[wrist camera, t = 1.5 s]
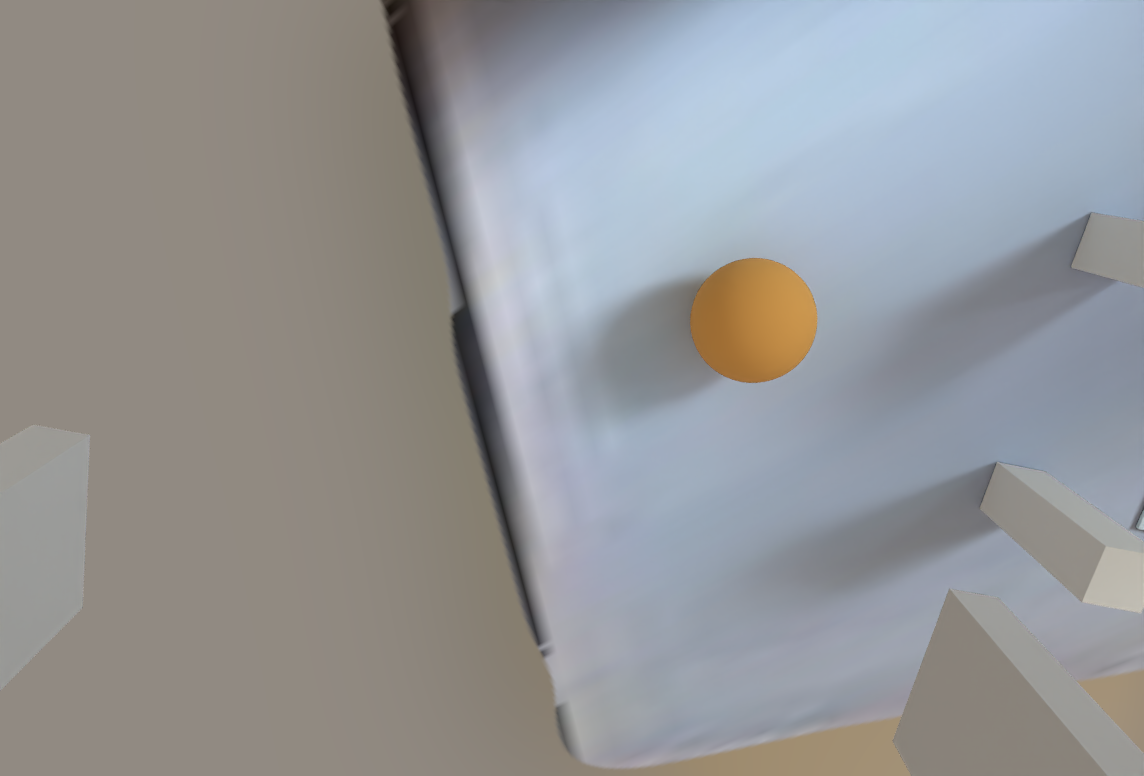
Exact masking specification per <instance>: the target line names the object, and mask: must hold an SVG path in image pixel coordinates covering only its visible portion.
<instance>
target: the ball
mask: <svg viewBox="0 0 1144 776" xmlns="http://www.w3.org/2000/svg"><path fill="white" fill-rule="evenodd" d="M690 327H691V333H692V338H693V341H694V344H695V346H696V348H697V350H698V352H699V354H700V355H701V357H702V358H703V359H704V361H705V362H706V363H707V364H708V365H709V366H710V367H711V368H713V369H714V370H715V371H716V372H718V373H720V374H721V375H723V376H725V377H728V378H730V379H732V380H736V381H740V382H746V383H758V382H765V381H769V380H773V379H776V378H778V377H781V376H783V375H784V374H786V373H788V372H789V371H791V370H792V369H794V368H795V367H796V366H797V365H798V364H799V363H800V362H801V361H802V360H803V359H804V357H805V356H806V354H807V353H808V351H809V349H810V347H811V346H812V343H813V340H814V338H815V333H816V329H817V310H816V305H815V302H814V299H813V296H812V294H811V292H810V290H809V288H808V286H807V285H806V284H805V282H804V281H803V280H802V279H801V278H800V277H799V276H798V275H797V274H796V273H795V272H794V271H793V270H791V269H790V268H788V267H786V266H785V265H782V264H780V263H778V262H775V261H772V260H768V259H761V258H749V259H742V260H738V261H734V262H732V263H729V264H727V265H725V266H723V267H721V268H719V269H718V270H717V271H715V272H714V273H713V274H712V275H711V276H710V277H708V278H707V280H706V281H705V282H704V283H703V284H702V286H701V287H700V289H699V291H698V293H697V295H696V297H695V299H694V302H693V305H692V310H691V316H690Z"/></svg>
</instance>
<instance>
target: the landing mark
mask: <svg viewBox="0 0 1144 776" xmlns="http://www.w3.org/2000/svg"><path fill="white" fill-rule="evenodd" d="M1136 528H1137V529H1141V530H1144V510H1143V512H1142V514H1141V516H1140V519H1139V521H1138V523H1137V525H1136Z"/></svg>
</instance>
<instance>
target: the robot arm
mask: <svg viewBox="0 0 1144 776" xmlns="http://www.w3.org/2000/svg"><path fill="white" fill-rule="evenodd" d="M89 447H90V435H88V434H83V433H77V432H72V431H66V430H60V429H55V428H49V427H44V426H38V425H32V426H30V427H28V428H26V429H24V430H23V431H21V432H19V433H17V434H16V435H14V436H12V437H10V438H9V439H7V440H5V441H3V442H1V443H0V691H1V690H2V688H3V687H5V686H6V685H7V684H8V682H9V681H10V680H11V679H12V678H13V677H14V676H15V675H16V674H17V673H18V672H19V671H20V670H21V669H22V668H23V667H24V666H25V665H26V664H27V663H28V662H29V661H30V660H31V659H32V658H33V657H34V656H35V655H36V654H37V653H38V652H39V651H40V650H41V649H42V648H43V647H44V646H45V645H46V644H47V643H48V642H49V641H50V640H51V639H52V638H53V637H54V636H55V635H56V634H57V633H58V632H59V631H60V630H61V629H62V628H63V627H64V626H65V625H66V624H67V623H68V622H69V621H70V620H71V619H72V618H73V617H74V616H75V615H76V614H77V613H78V612H79V611H80V610H81V609H82V608H83V587H84V563H85V540H86V517H87V516H86V515H87V492H88V470H89ZM893 743H894V744H895V747H896V748H897V750H898V752H899V754H900V756H901V758H902V760H903V761H904V763H905V765H906V767H907V769H908V770H909V772H910V774H911V776H1144V753H1143V752H1142V751H1141V750H1140V749H1139V748H1138V747H1137V746H1136V745H1135V744H1134V743H1133V742H1132V741H1131V739H1130V738H1129V737H1128V736H1127V735H1126V734H1125V733H1124V732H1123V731H1122V730H1121V729H1120V728H1119V727H1118V725H1117V724H1116V723H1115V722H1114V721H1113V720H1112V719H1111V718H1110V717H1109V716H1108V715H1107V714H1106V713H1105V712H1104V710H1102V708H1101V707H1100V706H1099V705H1098V704H1097V703H1096V702H1095V701H1094V700H1093V699H1092V698H1091V696H1090V695H1089V694H1088V693H1087V692H1086V691H1085V690H1084V689H1083V688H1082V687H1081V686H1080V685H1079V684H1078V683H1077V681H1076V680H1075V679H1074V678H1073V677H1072V676H1071V675H1070V674H1069V673H1068V672H1067V671H1066V670H1065V669H1064V668H1063V666H1062V665H1061V664H1060V663H1059V662H1058V661H1057V660H1056V659H1055V658H1054V657H1053V656H1052V655H1051V654H1050V653H1049V651H1048V650H1047V649H1046V648H1045V647H1044V646H1043V645H1042V644H1041V643H1040V642H1039V641H1038V640H1037V639H1036V638H1035V636H1034V635H1033V634H1032V633H1031V632H1030V631H1029V630H1028V629H1027V628H1026V627H1025V626H1024V625H1023V624H1022V623H1021V621H1020V620H1019V619H1018V618H1017V617H1016V616H1015V615H1014V614H1013V613H1012V612H1011V611H1010V610H1009V609H1008V608H1007V606H1006V605H1005V604H1004V603H1003V602H1002V601H1001V600H1000V599H999V598H998V597H993V596H987V595H982V594H976V593H970V592H965V591H959V590H954V589H949V591H948V594H947V597H946V599H945V602H944V605H943V607H942V610H941V613H940V615H939V618H938V621H937V623H936V626H935V629H934V631H933V634H932V637H931V639H930V642H929V645H928V647H927V650H926V653H925V656H924V658H923V661H922V664H921V666H920V669H919V672H918V674H917V677H916V680H915V682H914V685H913V688H912V690H911V693H910V696H909V698H908V701H907V704H906V707H905V709H904V712H903V715H902V717H901V720H900V723H899V725H898V728H897V731H896V733H895V736H894V739H893Z"/></svg>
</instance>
